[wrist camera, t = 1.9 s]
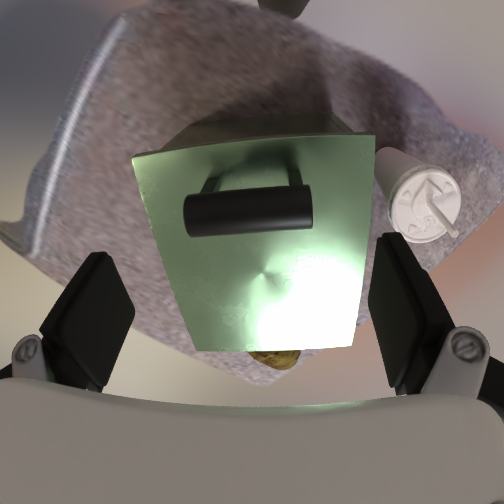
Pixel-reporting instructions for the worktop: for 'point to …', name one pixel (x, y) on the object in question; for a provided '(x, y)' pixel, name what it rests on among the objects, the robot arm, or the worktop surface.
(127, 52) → the worktop surface
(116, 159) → the worktop surface
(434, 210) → the smoothie
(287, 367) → the potato
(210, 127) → the caddy
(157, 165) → the lid
